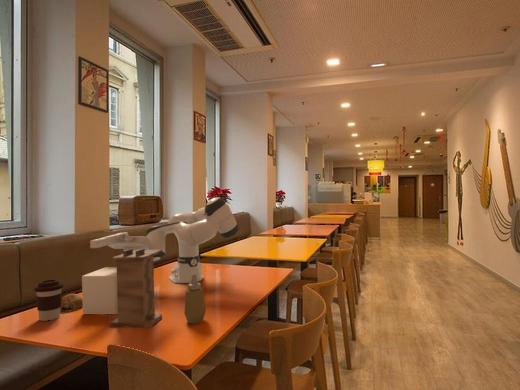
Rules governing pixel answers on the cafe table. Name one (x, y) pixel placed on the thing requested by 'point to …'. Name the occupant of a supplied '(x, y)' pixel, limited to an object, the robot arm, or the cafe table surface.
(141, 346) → the cafe table surface
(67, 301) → the bread roll
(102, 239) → the brushed metal block
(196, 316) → the squeeze bottle
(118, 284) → the walnut stand
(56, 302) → the coffee cup
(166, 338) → the cafe table surface
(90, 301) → the cream tilted cube
